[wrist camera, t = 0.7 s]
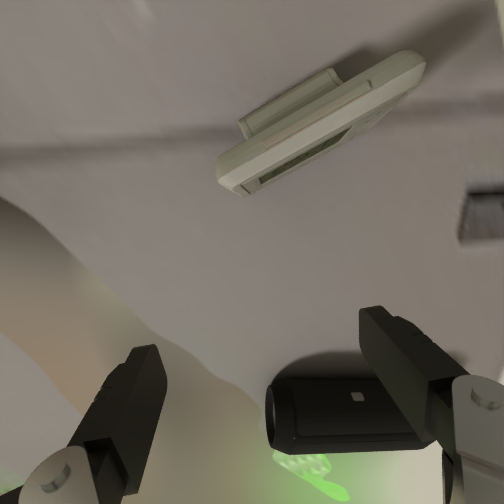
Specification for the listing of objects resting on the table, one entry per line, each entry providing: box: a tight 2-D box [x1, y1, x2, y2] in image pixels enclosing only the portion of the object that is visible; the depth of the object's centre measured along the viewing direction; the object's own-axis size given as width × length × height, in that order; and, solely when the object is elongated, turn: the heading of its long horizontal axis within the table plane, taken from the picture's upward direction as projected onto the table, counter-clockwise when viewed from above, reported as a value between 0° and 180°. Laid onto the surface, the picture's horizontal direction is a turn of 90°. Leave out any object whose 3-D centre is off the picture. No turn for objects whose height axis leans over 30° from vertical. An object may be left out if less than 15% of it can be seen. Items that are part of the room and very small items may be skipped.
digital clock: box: [215, 50, 426, 197], centre depth 23 cm, size 16×9×11 cm, turn 106°
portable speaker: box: [265, 379, 436, 455], centre depth 42 cm, size 26×10×10 cm, turn 84°
